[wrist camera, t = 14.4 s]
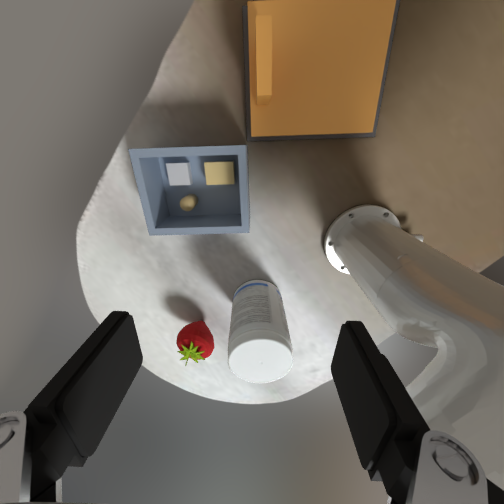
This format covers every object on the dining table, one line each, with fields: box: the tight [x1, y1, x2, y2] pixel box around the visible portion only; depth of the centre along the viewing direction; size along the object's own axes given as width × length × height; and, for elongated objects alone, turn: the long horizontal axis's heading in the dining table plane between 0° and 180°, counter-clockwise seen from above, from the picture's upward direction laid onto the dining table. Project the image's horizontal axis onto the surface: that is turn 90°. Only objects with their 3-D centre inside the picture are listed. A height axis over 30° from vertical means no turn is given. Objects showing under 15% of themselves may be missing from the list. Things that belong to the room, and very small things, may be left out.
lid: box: [248, 0, 396, 137], centre depth 25 cm, size 16×13×8 cm
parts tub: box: [128, 145, 250, 235], centre depth 32 cm, size 14×11×7 cm
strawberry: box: [177, 321, 214, 366], centre depth 43 cm, size 6×8×10 cm
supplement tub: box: [228, 280, 293, 383], centre depth 38 cm, size 10×10×15 cm
